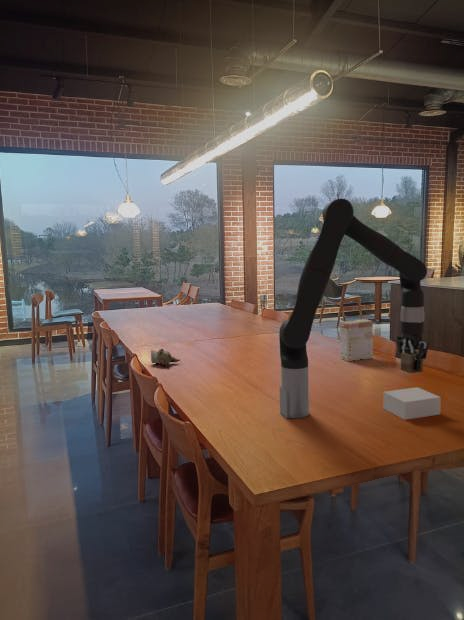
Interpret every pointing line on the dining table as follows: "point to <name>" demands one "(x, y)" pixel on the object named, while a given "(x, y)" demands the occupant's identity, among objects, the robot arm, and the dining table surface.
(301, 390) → the robot arm
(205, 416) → the dining table surface
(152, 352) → the ceramic sculpture
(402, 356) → the walnut block
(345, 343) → the coffeecake box
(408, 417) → the block
